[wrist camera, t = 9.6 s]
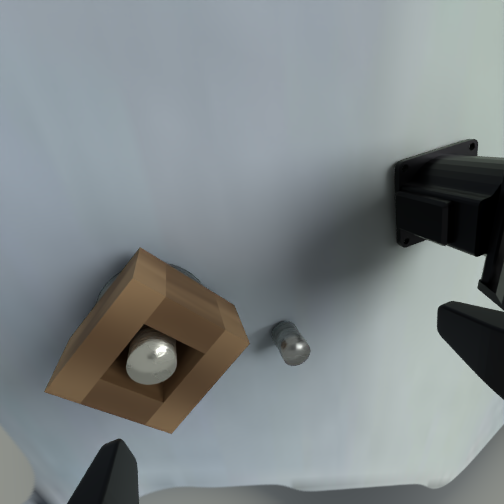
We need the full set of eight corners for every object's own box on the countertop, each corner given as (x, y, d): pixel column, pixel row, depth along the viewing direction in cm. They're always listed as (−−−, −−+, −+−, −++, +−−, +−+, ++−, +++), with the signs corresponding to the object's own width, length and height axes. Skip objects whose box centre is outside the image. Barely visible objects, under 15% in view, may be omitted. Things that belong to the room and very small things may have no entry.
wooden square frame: (139, 247, 16) (132, 278, 13) (234, 305, 19) (249, 343, 16) (69, 338, 17) (44, 391, 14) (170, 380, 20) (171, 433, 17)
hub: (190, 247, 18) (197, 283, 14) (221, 333, 21) (236, 386, 17) (74, 285, 17) (42, 337, 13) (123, 370, 20) (111, 437, 16)
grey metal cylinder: (293, 317, 22) (308, 337, 20) (298, 337, 23) (312, 359, 21) (269, 327, 22) (281, 348, 20) (274, 347, 23) (286, 369, 21)
